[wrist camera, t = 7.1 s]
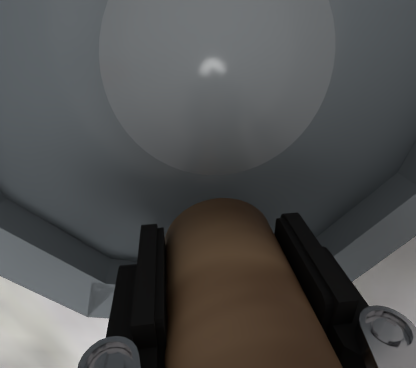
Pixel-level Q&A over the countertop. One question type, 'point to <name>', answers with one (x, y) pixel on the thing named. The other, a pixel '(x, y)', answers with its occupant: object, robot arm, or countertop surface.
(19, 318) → the countertop surface
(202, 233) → the walnut bead
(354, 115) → the slate tray
